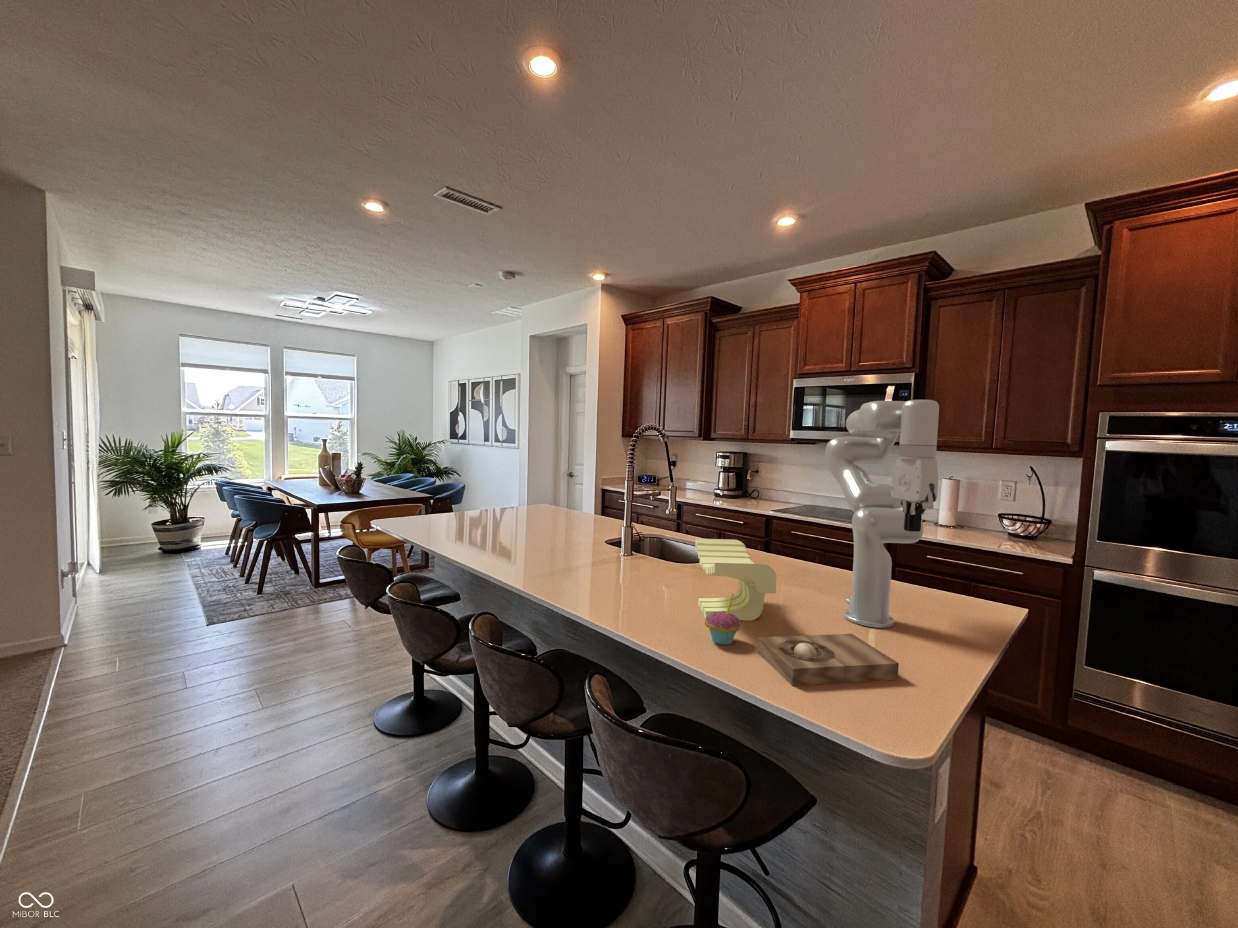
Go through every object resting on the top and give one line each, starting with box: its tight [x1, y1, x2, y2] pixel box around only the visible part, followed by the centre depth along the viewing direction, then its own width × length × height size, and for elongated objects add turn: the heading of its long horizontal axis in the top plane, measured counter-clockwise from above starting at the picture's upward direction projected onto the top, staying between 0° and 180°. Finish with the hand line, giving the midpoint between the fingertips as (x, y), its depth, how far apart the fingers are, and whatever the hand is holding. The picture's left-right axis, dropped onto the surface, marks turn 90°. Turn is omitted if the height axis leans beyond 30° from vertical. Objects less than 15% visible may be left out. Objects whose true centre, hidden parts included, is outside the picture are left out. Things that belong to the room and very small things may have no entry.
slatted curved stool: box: [695, 538, 777, 621], centre depth 146 cm, size 30×16×18 cm, turn 1°
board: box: [757, 633, 900, 686], centre depth 114 cm, size 24×16×4 cm, turn 100°
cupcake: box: [704, 592, 742, 646], centre depth 125 cm, size 9×8×12 cm
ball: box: [794, 643, 818, 657], centre depth 113 cm, size 5×5×5 cm
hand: (912, 530), depth 121 cm, fingers closed
